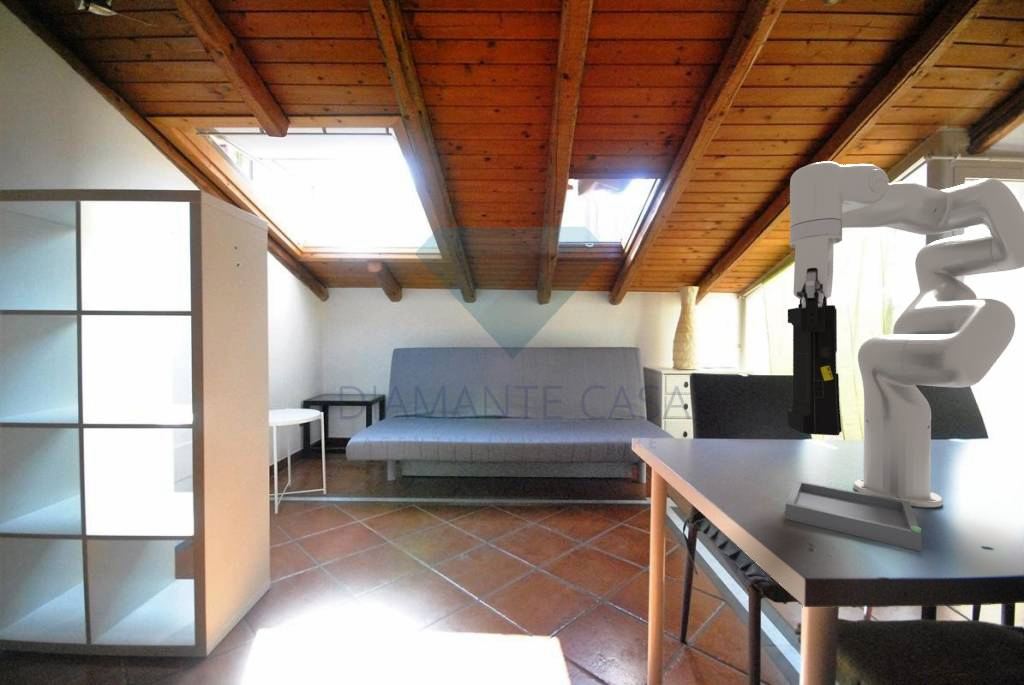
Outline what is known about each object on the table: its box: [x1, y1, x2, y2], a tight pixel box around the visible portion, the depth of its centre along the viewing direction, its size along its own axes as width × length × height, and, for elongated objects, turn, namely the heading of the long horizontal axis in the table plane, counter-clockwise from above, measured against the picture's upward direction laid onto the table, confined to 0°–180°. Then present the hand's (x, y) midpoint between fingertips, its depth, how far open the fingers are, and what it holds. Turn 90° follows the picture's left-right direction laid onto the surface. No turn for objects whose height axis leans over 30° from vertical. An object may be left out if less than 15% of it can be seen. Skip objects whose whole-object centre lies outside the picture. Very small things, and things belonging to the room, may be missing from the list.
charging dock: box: [785, 480, 922, 552], centre depth 68 cm, size 16×16×3 cm
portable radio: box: [787, 295, 843, 436], centre depth 72 cm, size 8×6×25 cm
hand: (815, 331), depth 72 cm, fingers closed on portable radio, 8 cm apart
